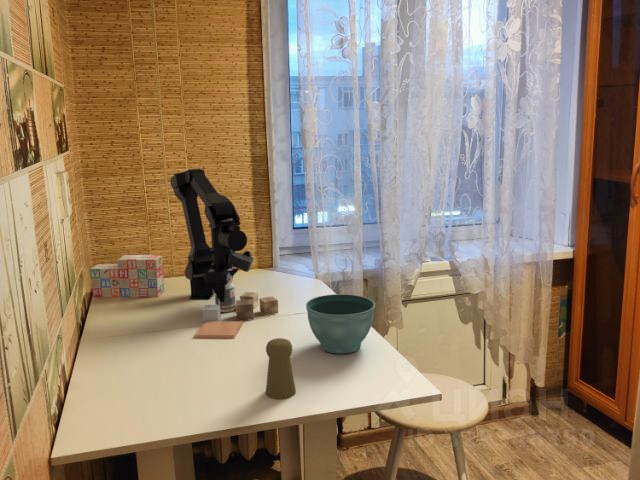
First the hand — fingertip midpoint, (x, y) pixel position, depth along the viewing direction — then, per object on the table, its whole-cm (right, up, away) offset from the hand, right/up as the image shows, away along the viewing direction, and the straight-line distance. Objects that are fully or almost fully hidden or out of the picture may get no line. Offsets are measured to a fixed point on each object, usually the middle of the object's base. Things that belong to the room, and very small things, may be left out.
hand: (225, 298), depth 169 cm
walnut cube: (+7, -5, -6) cm, 10 cm away
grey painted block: (-2, -6, -8) cm, 10 cm away
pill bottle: (0, -4, +1) cm, 4 cm away
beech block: (+7, -3, +3) cm, 8 cm away
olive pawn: (+19, -14, -51) cm, 56 cm away
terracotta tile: (+1, -7, -16) cm, 18 cm away
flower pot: (+32, -9, -28) cm, 44 cm away
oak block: (+13, -4, -2) cm, 14 cm away
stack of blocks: (-34, -1, +18) cm, 38 cm away
